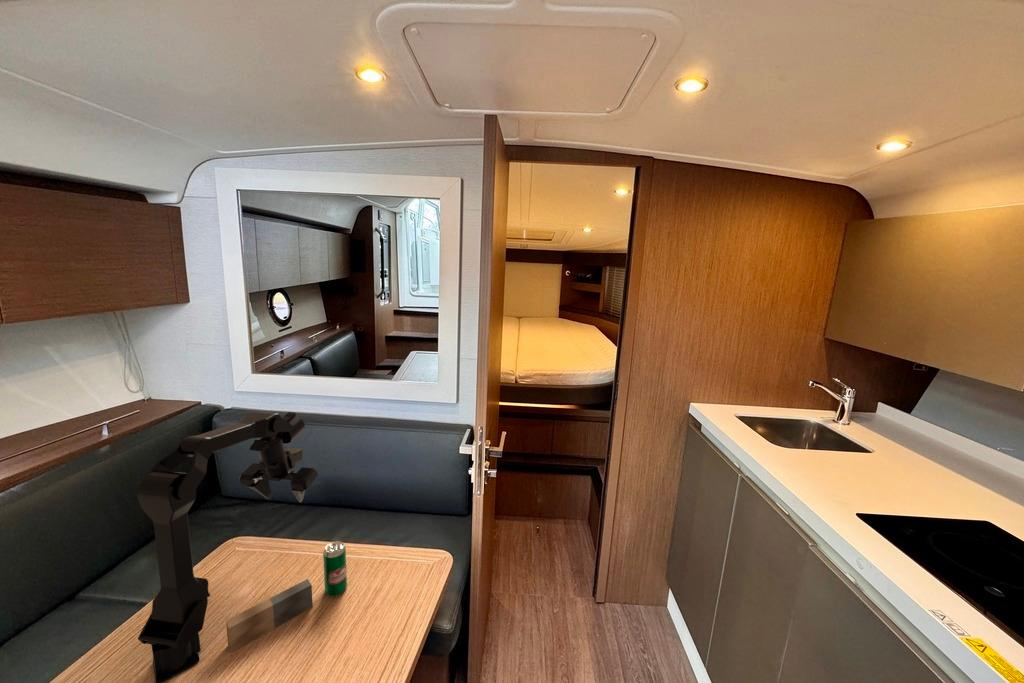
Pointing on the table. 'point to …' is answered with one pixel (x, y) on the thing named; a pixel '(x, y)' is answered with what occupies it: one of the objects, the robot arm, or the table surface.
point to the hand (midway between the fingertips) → (285, 499)
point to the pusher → (268, 615)
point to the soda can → (335, 568)
